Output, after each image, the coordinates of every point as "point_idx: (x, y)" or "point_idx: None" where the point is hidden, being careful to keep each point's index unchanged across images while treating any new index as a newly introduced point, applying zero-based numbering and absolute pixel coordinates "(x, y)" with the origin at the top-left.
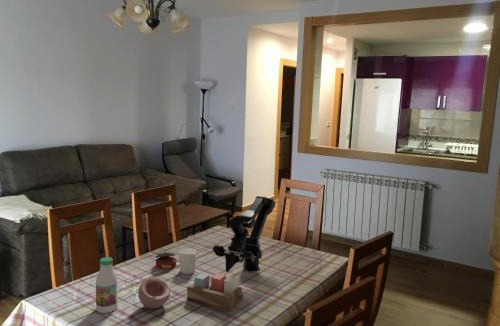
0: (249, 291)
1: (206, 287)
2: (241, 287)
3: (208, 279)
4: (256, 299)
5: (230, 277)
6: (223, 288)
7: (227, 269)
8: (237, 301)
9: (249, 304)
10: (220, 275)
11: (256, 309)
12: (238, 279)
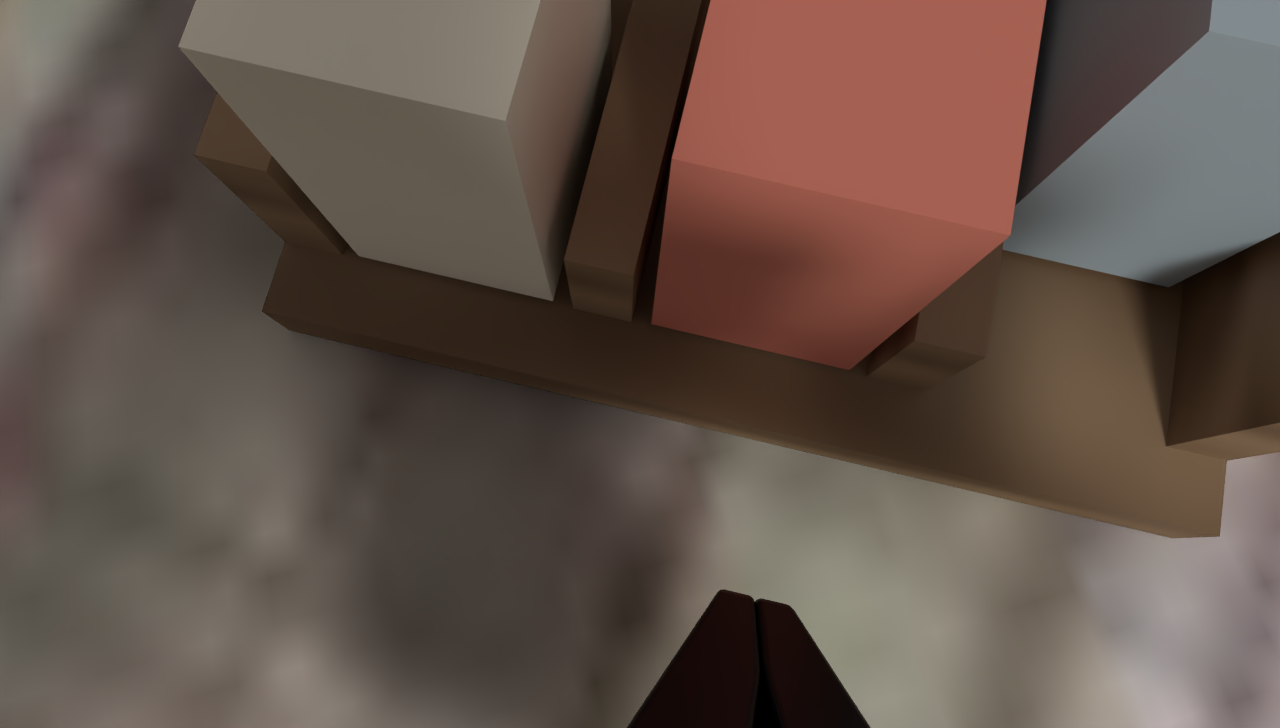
0: (191, 677)
1: (1052, 77)
2: (202, 148)
3: (1133, 68)
4: (23, 367)
5: (464, 25)
6: (661, 133)
7: (732, 620)
8: None
9: (144, 154)
10: (836, 81)
11: (10, 24)
12: (203, 66)
